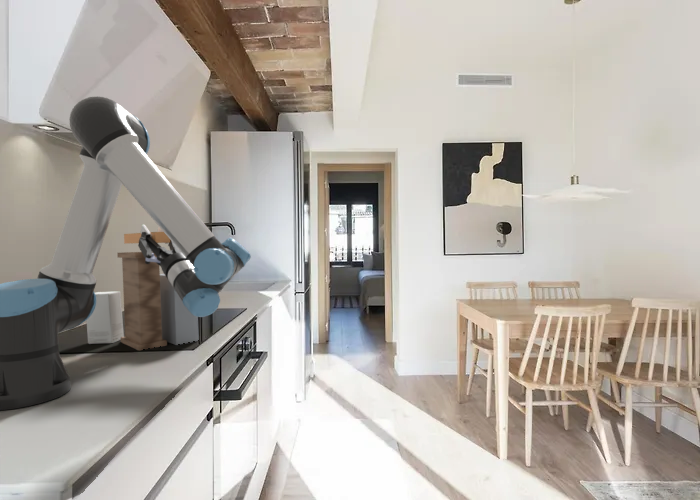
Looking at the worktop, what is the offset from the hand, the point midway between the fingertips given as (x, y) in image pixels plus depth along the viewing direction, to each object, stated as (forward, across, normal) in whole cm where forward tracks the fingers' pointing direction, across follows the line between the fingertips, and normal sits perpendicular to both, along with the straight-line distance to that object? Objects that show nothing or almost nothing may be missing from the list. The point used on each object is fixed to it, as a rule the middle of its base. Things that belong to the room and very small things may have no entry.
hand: (151, 228), depth 126 cm
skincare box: (+2, -7, -42) cm, 42 cm away
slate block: (-11, +10, -34) cm, 37 cm away
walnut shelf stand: (-9, 0, -35) cm, 36 cm away
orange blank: (+2, 0, -6) cm, 6 cm away
